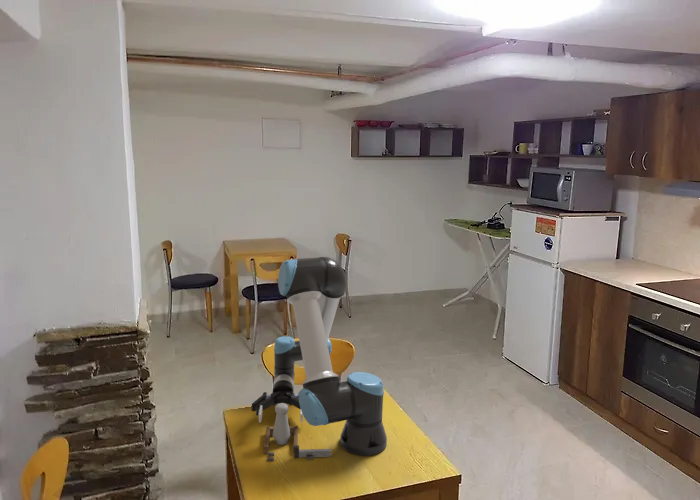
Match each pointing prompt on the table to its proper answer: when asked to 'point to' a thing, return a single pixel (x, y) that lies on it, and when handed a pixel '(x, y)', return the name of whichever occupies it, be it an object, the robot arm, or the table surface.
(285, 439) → the salt shaker
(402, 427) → the table surface
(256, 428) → the table surface
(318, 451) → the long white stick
